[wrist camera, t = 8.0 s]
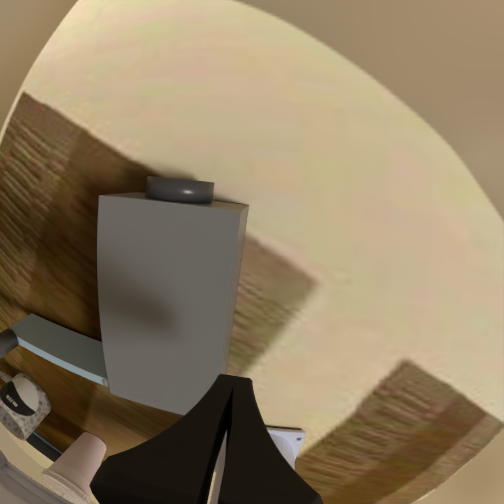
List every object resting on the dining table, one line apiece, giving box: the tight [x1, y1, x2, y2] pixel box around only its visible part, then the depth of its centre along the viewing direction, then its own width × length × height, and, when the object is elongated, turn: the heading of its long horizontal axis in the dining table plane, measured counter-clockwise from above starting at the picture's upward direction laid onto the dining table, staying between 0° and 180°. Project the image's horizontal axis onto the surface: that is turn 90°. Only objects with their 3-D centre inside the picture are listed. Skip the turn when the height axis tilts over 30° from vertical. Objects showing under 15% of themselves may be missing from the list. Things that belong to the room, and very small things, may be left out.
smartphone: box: [26, 431, 63, 462], centre depth 29 cm, size 7×1×15 cm
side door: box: [0, 313, 109, 387], centre depth 18 cm, size 12×2×8 cm, turn 80°
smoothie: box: [41, 432, 107, 504], centre depth 19 cm, size 6×6×14 cm
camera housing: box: [97, 176, 249, 415], centre depth 18 cm, size 15×8×5 cm, turn 172°
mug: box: [0, 370, 51, 441], centre depth 22 cm, size 10×7×7 cm
